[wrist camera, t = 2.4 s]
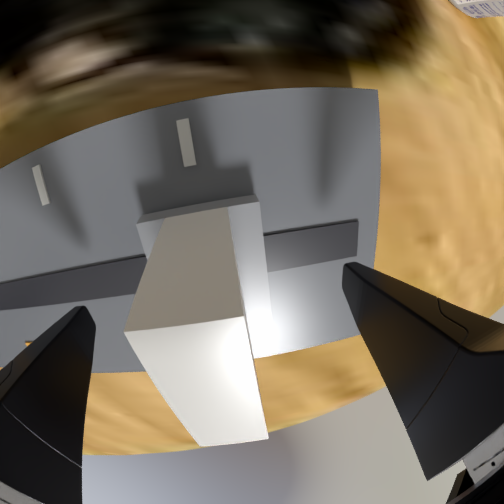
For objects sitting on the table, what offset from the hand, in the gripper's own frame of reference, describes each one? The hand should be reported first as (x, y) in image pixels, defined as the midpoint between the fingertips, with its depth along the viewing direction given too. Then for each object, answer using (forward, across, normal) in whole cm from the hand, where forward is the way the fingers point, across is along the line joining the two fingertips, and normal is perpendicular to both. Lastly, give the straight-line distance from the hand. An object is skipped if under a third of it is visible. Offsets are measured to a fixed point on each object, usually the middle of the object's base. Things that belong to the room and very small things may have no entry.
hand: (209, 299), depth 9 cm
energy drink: (+4, -16, -15) cm, 22 cm away
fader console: (+4, +6, 0) cm, 7 cm away
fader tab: (+2, 0, 0) cm, 2 cm away
